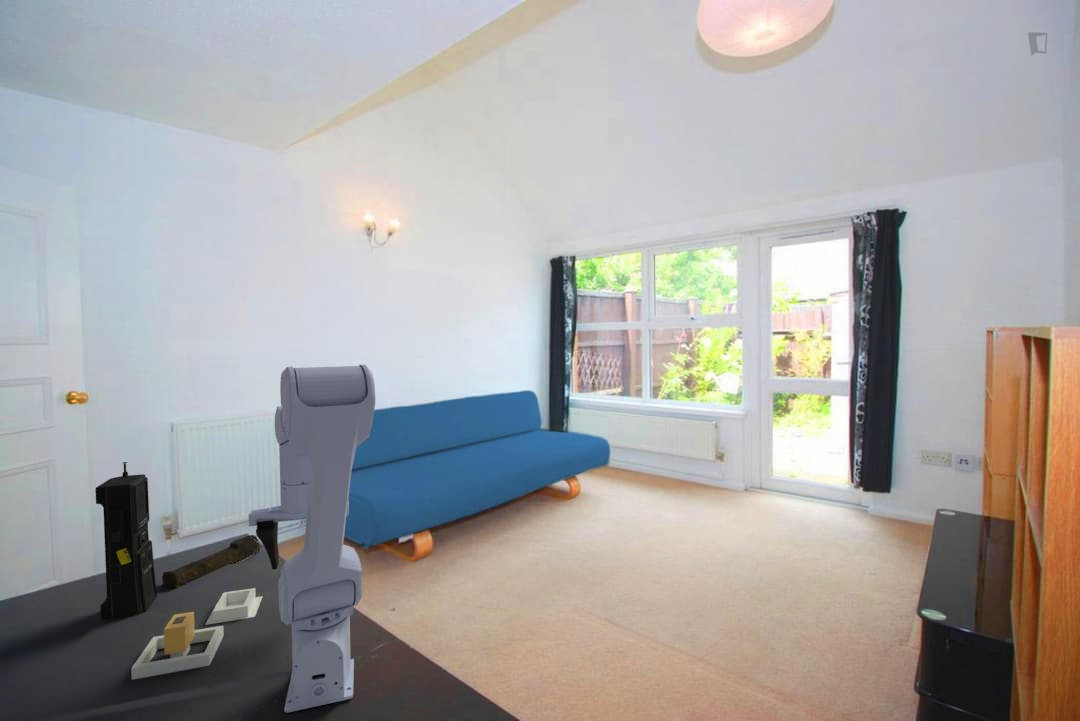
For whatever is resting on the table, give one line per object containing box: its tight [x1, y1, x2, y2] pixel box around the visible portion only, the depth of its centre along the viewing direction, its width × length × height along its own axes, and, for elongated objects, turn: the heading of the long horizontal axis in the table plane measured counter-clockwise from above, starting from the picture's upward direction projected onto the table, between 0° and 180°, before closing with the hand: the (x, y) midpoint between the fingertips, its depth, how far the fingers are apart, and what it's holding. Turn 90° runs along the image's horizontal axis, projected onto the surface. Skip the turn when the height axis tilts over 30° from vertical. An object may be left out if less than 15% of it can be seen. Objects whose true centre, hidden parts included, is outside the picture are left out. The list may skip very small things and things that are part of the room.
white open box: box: [205, 587, 264, 626], centre depth 85 cm, size 7×7×3 cm
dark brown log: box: [161, 534, 261, 590], centre depth 102 cm, size 19×4×5 cm, turn 156°
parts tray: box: [130, 625, 225, 681], centre depth 73 cm, size 8×9×2 cm
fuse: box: [163, 611, 196, 659], centre depth 73 cm, size 4×2×6 cm, turn 19°
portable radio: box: [95, 461, 158, 620], centre depth 85 cm, size 8×6×25 cm
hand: (301, 563), depth 82 cm, fingers open, 7 cm apart
